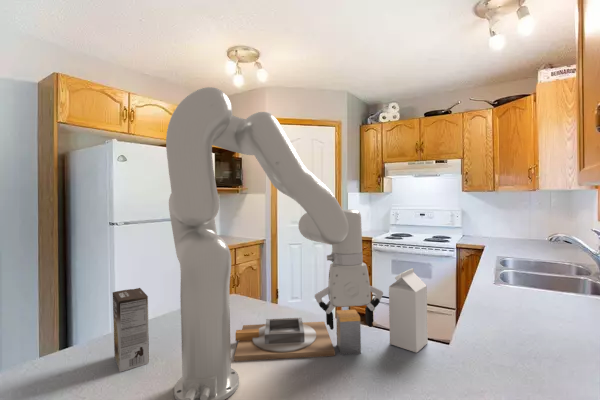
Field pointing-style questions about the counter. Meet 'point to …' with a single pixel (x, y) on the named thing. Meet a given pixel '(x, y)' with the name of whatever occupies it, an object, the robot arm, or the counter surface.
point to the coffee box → (130, 328)
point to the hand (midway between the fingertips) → (350, 326)
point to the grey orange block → (348, 332)
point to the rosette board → (283, 340)
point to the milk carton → (408, 312)
